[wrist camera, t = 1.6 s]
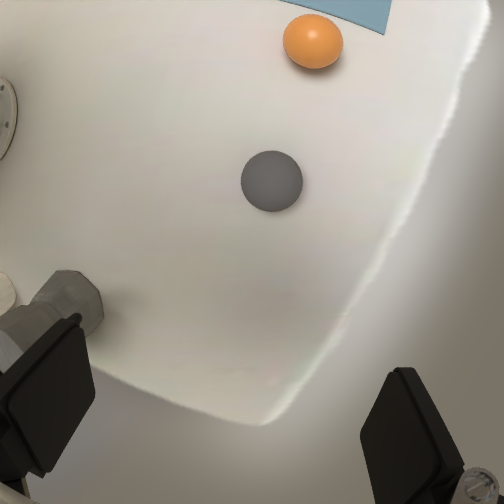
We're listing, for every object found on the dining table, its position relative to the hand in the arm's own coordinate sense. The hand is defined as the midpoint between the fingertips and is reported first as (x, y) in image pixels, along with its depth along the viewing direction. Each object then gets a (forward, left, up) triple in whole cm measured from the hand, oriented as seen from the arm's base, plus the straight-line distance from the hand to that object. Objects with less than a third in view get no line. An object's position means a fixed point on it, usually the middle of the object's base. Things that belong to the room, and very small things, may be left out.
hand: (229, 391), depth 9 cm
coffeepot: (-19, -16, -25) cm, 35 cm away
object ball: (0, +18, -22) cm, 28 cm away
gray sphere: (0, +4, -22) cm, 22 cm away
